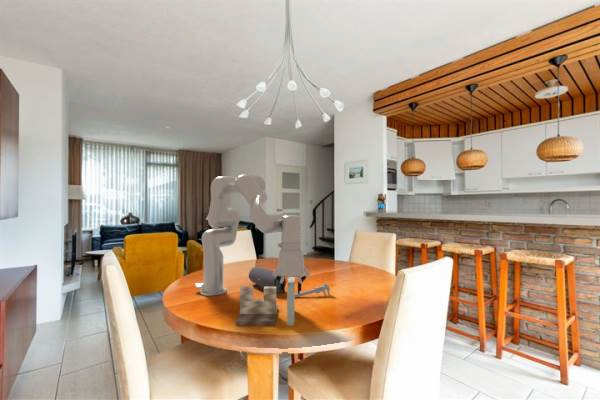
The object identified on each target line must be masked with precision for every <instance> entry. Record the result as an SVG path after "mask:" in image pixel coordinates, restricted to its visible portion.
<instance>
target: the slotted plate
mask: <svg viewBox="0 0 600 400" xmlns="http://www.w3.org/2000/svg"><path fill="white" fill-rule="evenodd" d="M295 279H296V277H288V279H287V280H288V281H287V285H286V286H287V287H286V305H287V306H286V326H288V327H289V326H291V327H292V326H295V310H296V309H295V304H296V303H295V300H296V298H295V294H296V291H295V290H296V289H295V287H296V284H295V283H296V280H295Z"/></svg>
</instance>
